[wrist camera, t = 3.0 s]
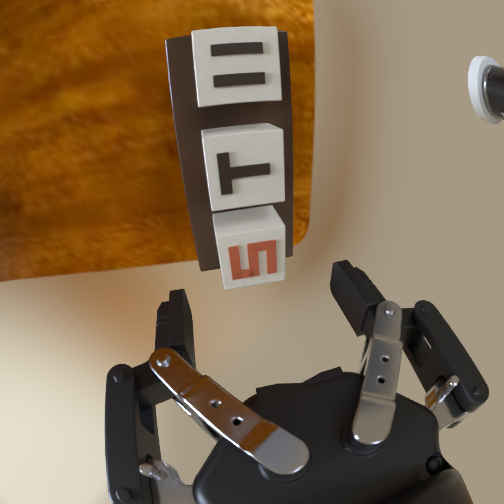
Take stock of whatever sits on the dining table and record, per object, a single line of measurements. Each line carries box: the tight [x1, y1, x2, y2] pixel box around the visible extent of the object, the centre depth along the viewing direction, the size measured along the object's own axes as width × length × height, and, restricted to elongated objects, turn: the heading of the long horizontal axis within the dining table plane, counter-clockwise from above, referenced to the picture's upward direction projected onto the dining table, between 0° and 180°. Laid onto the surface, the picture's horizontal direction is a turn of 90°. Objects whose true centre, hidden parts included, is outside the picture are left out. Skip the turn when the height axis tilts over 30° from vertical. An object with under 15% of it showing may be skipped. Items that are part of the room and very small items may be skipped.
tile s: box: [212, 205, 285, 290], centre depth 18 cm, size 4×4×3 cm
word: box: [191, 27, 285, 211], centre depth 13 cm, size 4×10×3 cm, turn 4°
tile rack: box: [165, 31, 293, 271], centre depth 19 cm, size 7×16×8 cm, turn 4°
